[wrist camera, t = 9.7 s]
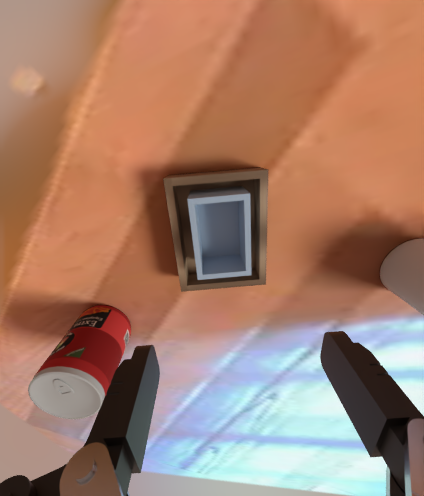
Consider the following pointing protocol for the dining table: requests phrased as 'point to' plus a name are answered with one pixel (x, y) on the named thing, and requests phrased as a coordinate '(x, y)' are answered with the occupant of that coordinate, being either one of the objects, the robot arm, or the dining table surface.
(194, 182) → the box
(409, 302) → the mug
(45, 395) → the canned food
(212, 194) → the small crate
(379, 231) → the dining table surface
